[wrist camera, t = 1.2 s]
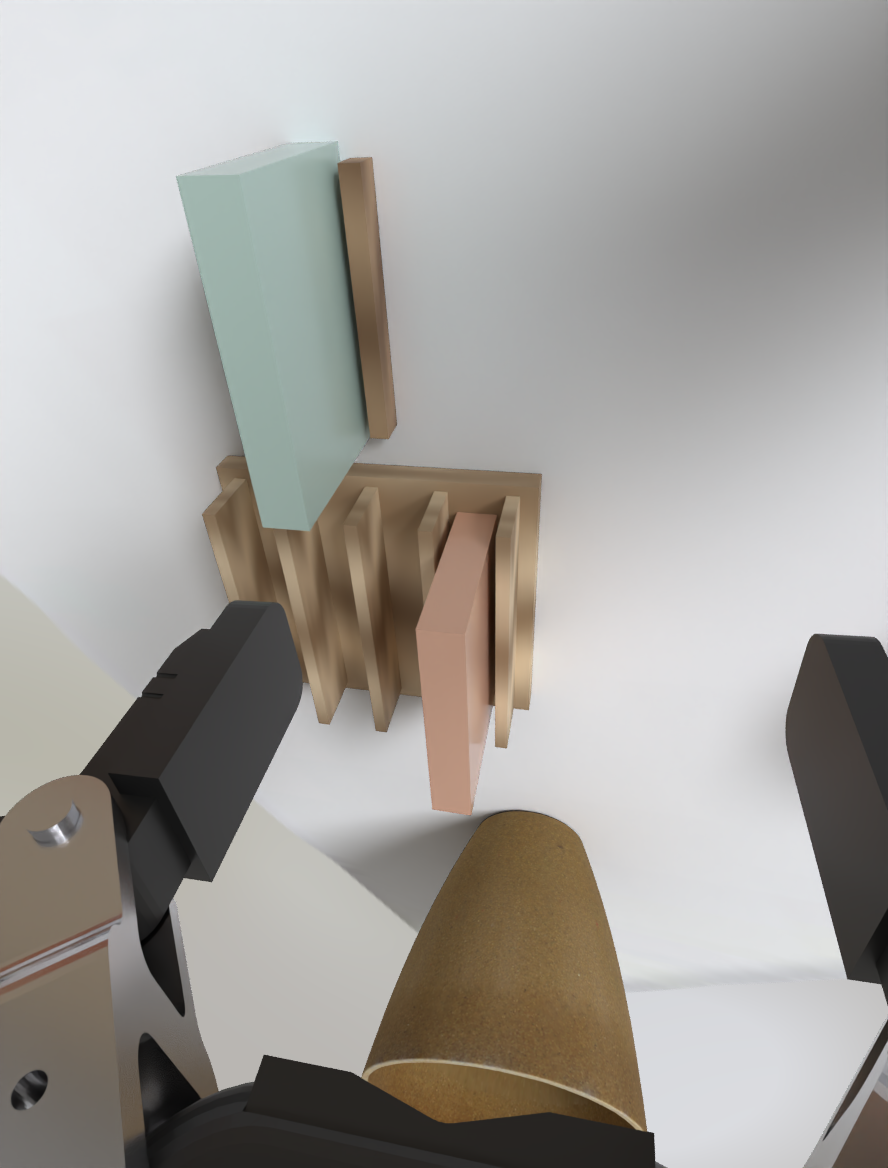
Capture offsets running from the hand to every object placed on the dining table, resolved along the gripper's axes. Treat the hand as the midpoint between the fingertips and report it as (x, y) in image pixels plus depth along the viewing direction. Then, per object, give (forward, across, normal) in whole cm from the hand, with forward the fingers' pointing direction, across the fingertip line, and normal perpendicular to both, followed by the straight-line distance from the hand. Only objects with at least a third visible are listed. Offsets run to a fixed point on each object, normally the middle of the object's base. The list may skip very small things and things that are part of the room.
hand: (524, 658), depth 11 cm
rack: (+19, +9, +13) cm, 25 cm away
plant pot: (+20, +2, +36) cm, 41 cm away
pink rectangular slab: (+18, +4, +14) cm, 23 cm away
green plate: (+19, +9, -1) cm, 21 cm away
